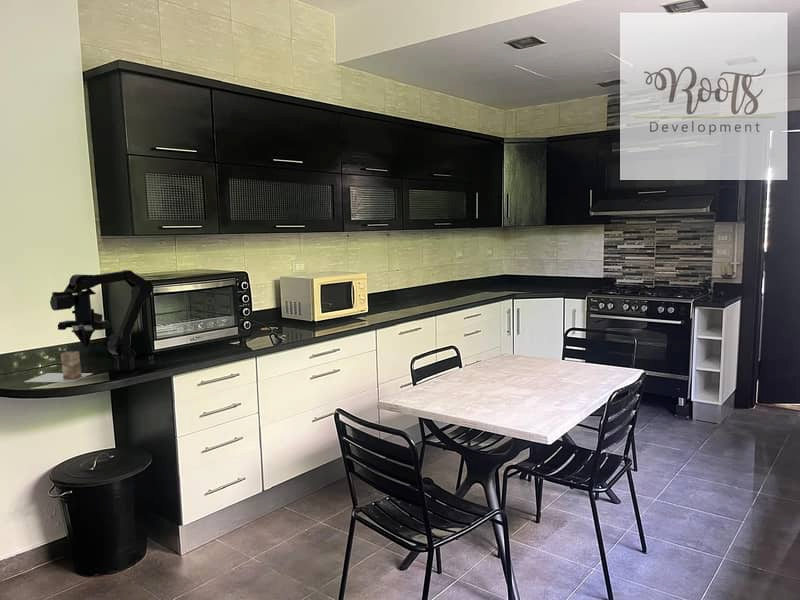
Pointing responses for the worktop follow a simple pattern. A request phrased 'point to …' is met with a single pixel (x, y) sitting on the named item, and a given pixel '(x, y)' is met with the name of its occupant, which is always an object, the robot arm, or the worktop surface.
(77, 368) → the maple block
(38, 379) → the board
